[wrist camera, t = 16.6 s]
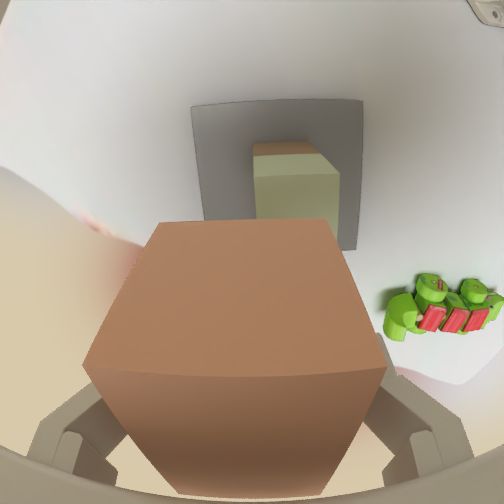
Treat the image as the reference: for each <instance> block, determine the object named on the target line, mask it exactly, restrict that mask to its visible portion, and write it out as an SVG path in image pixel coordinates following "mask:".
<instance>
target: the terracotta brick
mask: <svg viewBox="0 0 504 504" xmlns="http://www.w3.org/2000/svg"><path fill="white" fill-rule="evenodd" d="M82 366H83V367H84V369H85V371H86V372H87V374H88V375H89V377H90V379H91V381H92V382H93V384H94V385H95V387H96V389H97V390H98V392H99V393H100V395H101V396H102V398H103V399H104V401H105V402H106V404H107V405H108V407H109V408H110V410H111V411H112V413H113V414H114V416H115V417H116V418H117V420H118V421H119V423H120V424H121V425H122V427H123V428H124V429H125V431H126V432H127V434H128V435H129V436H130V437H131V439H132V440H133V441H134V443H135V444H136V445H137V446H138V448H139V449H140V450H141V452H142V453H143V454H144V455H145V456H146V458H147V459H148V460H149V461H150V462H151V464H152V465H153V466H154V467H155V468H156V469H157V470H158V472H159V473H160V474H161V475H162V476H163V477H164V478H165V480H166V481H167V482H168V483H169V484H170V485H171V486H172V487H173V488H174V489H175V490H176V492H177V493H178V494H184V495H194V496H205V497H219V498H249V499H253V498H254V499H258V498H288V497H303V496H313V495H320V494H321V493H322V491H323V489H324V488H325V486H326V485H327V483H328V482H329V480H330V478H331V477H332V475H333V474H334V472H335V470H336V469H337V467H338V465H339V463H340V462H341V460H342V458H343V457H344V455H345V453H346V451H347V450H348V448H349V446H350V444H351V442H352V440H353V439H354V437H355V435H356V433H357V431H358V429H359V427H360V425H361V423H362V421H363V419H364V417H365V415H366V413H367V411H368V409H369V407H370V405H371V403H372V401H373V399H374V397H375V395H376V392H377V390H378V388H379V386H380V383H381V381H382V379H383V377H384V374H385V372H386V369H387V367H388V366H387V363H386V361H385V358H384V355H383V352H382V350H381V347H380V344H379V342H378V339H377V336H376V334H375V331H374V329H373V326H372V323H371V321H370V318H369V316H368V313H367V311H366V308H365V306H364V303H363V301H362V299H361V296H360V294H359V291H358V289H357V287H356V284H355V282H354V279H353V277H352V275H351V272H350V270H349V268H348V266H347V263H346V261H345V259H344V256H343V254H342V252H341V250H340V248H339V245H338V243H337V241H336V239H335V237H334V234H333V232H332V230H331V228H330V226H329V224H328V222H327V219H326V218H289V219H244V220H212V221H187V222H164V223H159V224H158V226H157V228H156V229H155V231H154V232H153V234H152V236H151V237H150V239H149V241H148V242H147V244H146V246H145V247H144V249H143V251H142V253H141V254H140V256H139V258H138V259H137V261H136V263H135V265H134V266H133V268H132V270H131V271H130V273H129V275H128V277H127V279H126V280H125V282H124V284H123V286H122V288H121V290H120V291H119V293H118V295H117V297H116V299H115V300H114V302H113V304H112V306H111V308H110V310H109V312H108V314H107V316H106V317H105V320H104V321H103V323H102V325H101V327H100V329H99V331H98V333H97V335H96V337H95V339H94V341H93V343H92V345H91V347H90V349H89V351H88V354H87V356H86V358H85V360H84V362H83V364H82Z"/></svg>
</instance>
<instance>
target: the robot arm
mask: <svg viewBox="0 0 504 504" xmlns="http://www.w3.org/2000/svg"><path fill="white" fill-rule="evenodd" d="M468 2H469V4H470V5H471V7H472V9H473V10H474V12H475V14H476V15H477V17H478V18H479V19H480V21H482V22H483V23H484V24H487V25H492V26H497V27H503V28H504V0H468ZM492 13H493V14H492ZM493 15H494V16H493ZM375 334H376V336H377V339H378V342H379V344H380V347H381V350H382V352H383V355H384V358H385V361H386V363H387V366H388V367H387V369H386V372H385V374H384V377H383V379H382V381H381V383H380V386H379V388H378V390H377V392H376V395H375V397H374V399H373V401H372V403H371V405H370V407H369V409H368V411H367V413H366V415H365V417H364V419H363V422H364V423H365V424H366V425H367V426H368V427H369V428H370V429H371V431H372V432H373V433H374V434H375V435H376V436H377V437H378V438H379V439H380V440H381V441H382V442H383V443H384V444H385V445H386V446H387V447H388V449H389V450H391V452H392V453H393V454H394V455H395V457H394V458H393V459H392V460H391V461H390V463H389V464H388V465H387V466H386V467H385V468H384V470H383V471H382V475H383V480H384V486H385V487H382V488H377V489H372V490H368V491H363V492H357V493H352V494H346V495H339V496H333V497H325V498H316V499H306V500H296V501H295V500H294V501H279V502H222V501H207V500H195V499H185V498H176V497H169V496H162V495H156V494H150V493H144V492H139V491H134V490H129V489H125V488H120V487H116V486H115V484H116V479H117V475H118V471H117V470H116V468H115V467H114V466H112V465H111V464H110V463H109V462H108V461H107V460H106V459H105V458H106V457H107V456H108V455H109V454H110V453H111V452H112V451H113V449H114V448H115V447H116V446H117V445H118V444H119V443H120V442H121V441H122V440H123V439H124V438H125V436H126V435H127V432H126V431H125V429H124V428H123V427H122V425H121V424H120V423H119V421H118V420H117V418H116V417H115V416H114V414H113V413H112V411H111V410H110V408H109V407H108V405H107V404H106V402H105V401H104V399H103V398H102V396H101V395H100V393H99V392H98V390H97V389H96V387H95V385H94V384H93V382H91V383H90V384H88V385H87V386H86V387H84V388H83V389H82V390H80V391H79V392H78V393H77V394H75V395H74V396H73V397H71V398H70V399H69V400H68V401H66V402H65V403H64V404H62V405H61V406H60V407H58V408H57V409H56V410H55V411H53V412H52V413H51V414H49V415H48V416H47V417H46V418H44V419H43V420H42V421H41V422H40V424H39V426H38V428H37V431H36V433H35V436H34V438H33V441H32V443H31V446H30V448H29V451H28V454H27V456H26V457H25V456H22V455H20V454H18V453H16V452H14V451H11V450H9V449H7V448H5V447H3V446H1V445H0V504H504V444H503V445H501V446H499V447H497V448H495V449H493V450H490V451H488V452H486V453H484V454H482V455H479V456H477V457H474V454H473V452H472V449H471V446H470V443H469V440H468V438H467V435H466V432H465V430H464V427H463V425H462V422H461V419H460V418H459V417H457V416H456V415H455V414H453V413H452V412H451V411H449V410H448V409H447V408H445V407H444V406H443V405H441V404H440V403H439V402H437V401H436V400H435V399H433V398H432V397H431V396H429V395H428V394H427V393H425V392H424V391H423V390H421V389H420V388H419V387H417V386H416V385H415V384H413V383H412V382H411V381H409V380H408V379H407V378H405V377H404V376H403V375H398V376H397V374H396V371H395V368H394V366H393V363H392V360H391V358H390V355H389V353H388V350H387V348H386V345H385V343H384V340H383V338H382V335H381V334H380V333H375Z"/></svg>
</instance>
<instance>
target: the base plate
mask: <svg viewBox="0 0 504 504" xmlns="http://www.w3.org/2000/svg"><path fill="white" fill-rule="evenodd" d="M191 117H192V126H193V135H194V143H195V152H196V160H197V168H198V176H199V183H200V191H201V198H202V205H203V213H204V220H205V221H212V220H244V219H256V204H255V190H254V167H253V156H266V155H287V154H322V155H323V156H324V157H325V158H326V159H327V160H328V161H329V162H330V164H331V165H332V166H333V167H334V168H335V169H336V170H337V171H338V172H339V173H340V188H339V213H338V232H337V243H338V245H339V248H340V250H341V251H346V250H356V245H357V234H358V223H359V210H360V195H361V177H362V150H363V101H359V100H336V99H286V100H262V101H246V102H233V103H222V104H213V105H204V106H196V107H191Z"/></svg>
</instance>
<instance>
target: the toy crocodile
mask: <svg viewBox="0 0 504 504" xmlns="http://www.w3.org/2000/svg"><path fill="white" fill-rule="evenodd" d="M416 290H417V295H416V297H415V299H414V300H413V297H412V295H411V293H404V294H400V295H397V296H395V297H393V298H391V299H390V300H389V302H388V304H387V309H386V315H385V319H384V324H383V330H384V333H385V335H386V336H387V337H388V338H390V339H391V340H394V341H401V342H402V341H404V338H405V335H406V331H407V330H408V331H410V332H412V333H415V334H424V333H425V332H426V331H432V332H436V330H437V328H438V329H439V330H440V331H442V332H451V333H457V334H461V335H464V334H467V333H468V332H469V331H474V330H480V329H483V328H484V326H485V325H486V323H488V322H489V321H493V320H495V319H496V317H497V315H498V313H499V311H500V309H501V307H502V305H503V303H504V297H502V296H501V295H498V294H497V293H496V292H492V293H487V288H486V286H485V285H484V284H483V283H481V282H479V281H477V280H475V279H466V280H465V281H464V282H463V285H462V287H461V294H460V295H459V296H458V295H457V294H456V293H452V292H448V286H447V284H446V283H445V282H444V281H443V280H442V279H441V278H439V277H437V276H435V275H432V274H422V275H420V277H419V279H418V282H417V284H416Z"/></svg>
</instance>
